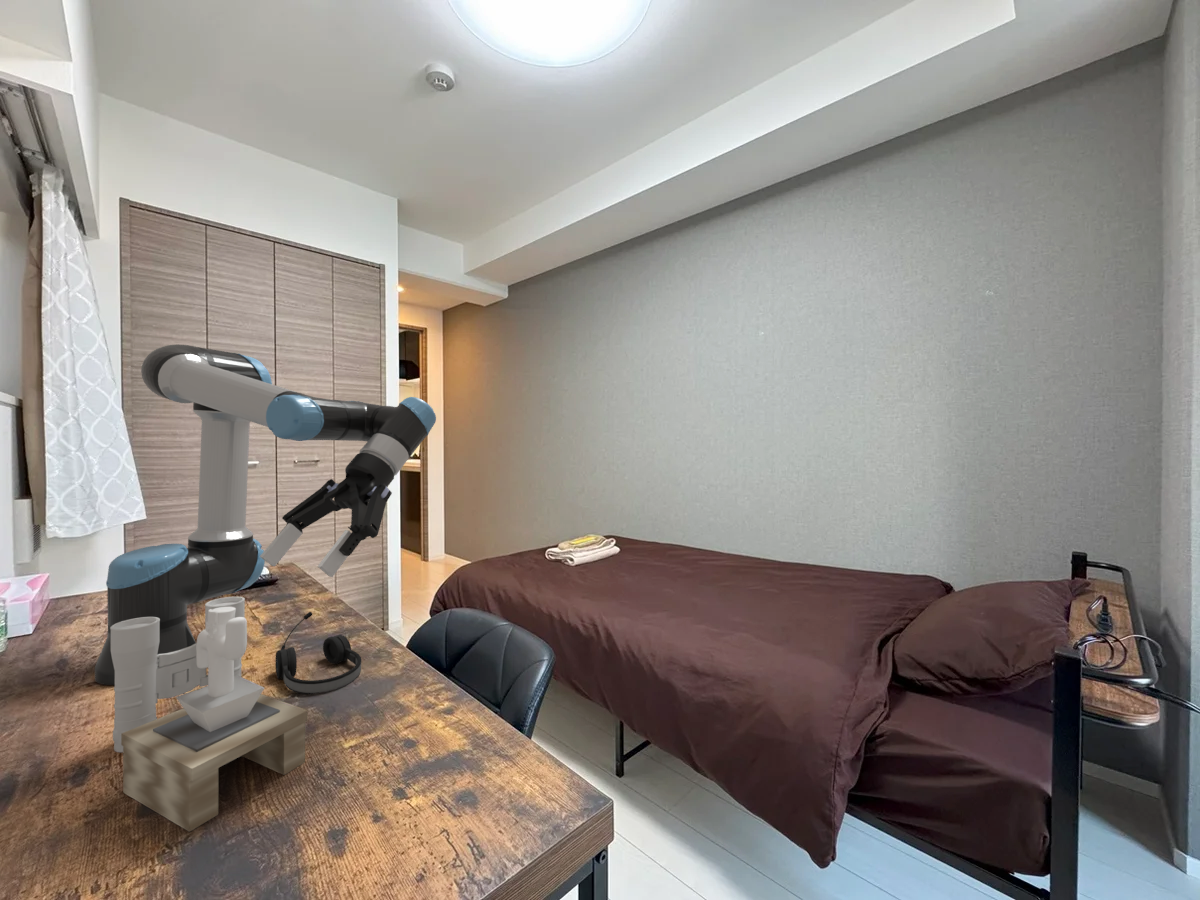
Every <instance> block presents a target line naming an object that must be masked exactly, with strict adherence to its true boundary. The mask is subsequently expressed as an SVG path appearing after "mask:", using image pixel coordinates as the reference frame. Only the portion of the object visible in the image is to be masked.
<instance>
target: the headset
mask: <svg viewBox="0 0 1200 900" xmlns="http://www.w3.org/2000/svg"><path fill="white" fill-rule="evenodd" d="M312 616H313V612H311V611H308V613H306V614H305V615H303V618H302V620H301V621H299V622H298V623H297V624H296V625H295V626H294V628H293V629H292V630H291V631H290V633H289V634H288V636H287V637H286V639H285V641H284V643H283V645H282V646H281V649H279V650H277V651H276V653H275V659H274V661H275V675H276V678H277V679H279V680H283V683H284V685H285V687H286V688H287V689H288V690H290V691H291V692H294V693H297V694H300V695H301V694H302V695H316V694H323V693H327V692H331V691H335V690H338V689H341V688H343V687H346V686H347V685H349V684H352V683H353V682H354V681H356V679H357V678H359V676H360V674H361V671H362V657H361V655H360V654H359V653H358V652H357V651H354V650H353V649H352V646H351V644H350V641H349V640H348V638H347V637H346V636H345V635H343V634H338V635H334V636H329V637H327V638H326V639H324V641H323V644H322V651H323V655H324V657H325V660H327V662H329V664H332V665H338V664H339V663H342V662H343V663H344V662H346V661H347V660H348V661H350V662H351V663H352V664H353V665H354V666H353V667H352V668H351V669H349V670H348V671H346V672H344V673H342V674H339V675H336V676H334V677H329V678H324V679H317V680H316V679H315V680H314V679H313V680H310V679H309V680H308V679H307V680H306V679H300V678H297V677H295V676H296V674H297V666H298V665H297V664H298V662H297V651H296V649H295V647H293V646H290V647H288V648H286V643H287V641H288V640H289V637H290V636H291V634H292V633H293V631H294V630H295V629H296V628H297V627H298V626H299V625H300V624H301V623H302V622H303V621H304V620H308V619H309V618H310V617H312Z"/></svg>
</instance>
